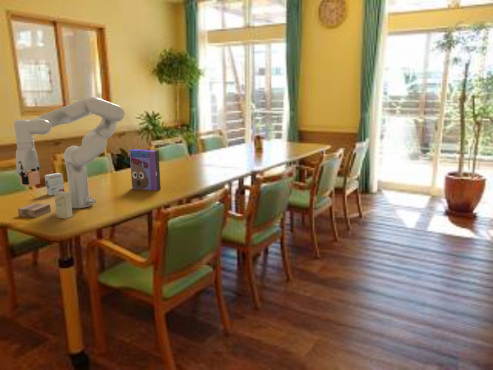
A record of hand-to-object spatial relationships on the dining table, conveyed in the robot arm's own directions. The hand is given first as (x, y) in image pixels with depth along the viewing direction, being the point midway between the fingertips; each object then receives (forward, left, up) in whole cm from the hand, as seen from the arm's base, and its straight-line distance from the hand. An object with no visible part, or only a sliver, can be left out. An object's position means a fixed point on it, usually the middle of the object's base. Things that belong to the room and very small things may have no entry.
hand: (30, 182), depth 197 cm
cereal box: (-33, -57, -16) cm, 68 cm away
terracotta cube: (0, 0, -1) cm, 1 cm away
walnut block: (0, 0, -16) cm, 16 cm away
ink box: (+15, -37, -16) cm, 43 cm away
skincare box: (-18, +2, -16) cm, 24 cm away
